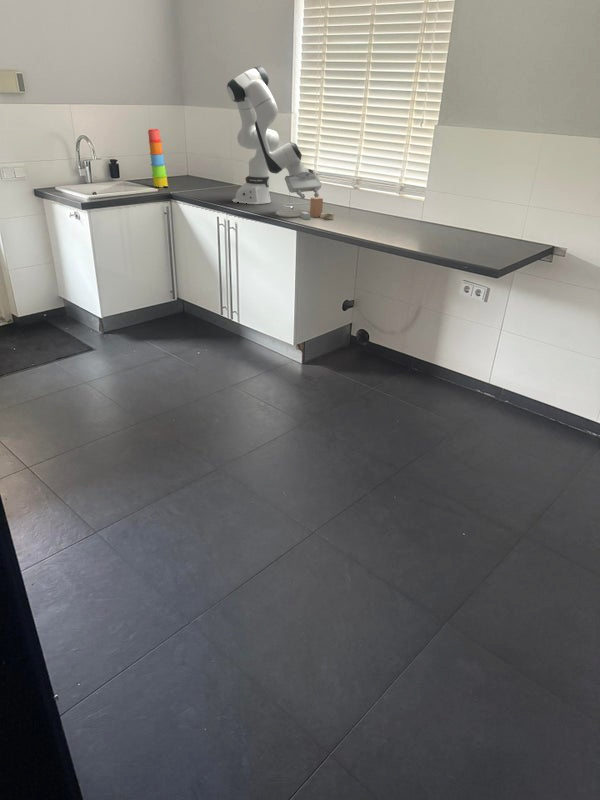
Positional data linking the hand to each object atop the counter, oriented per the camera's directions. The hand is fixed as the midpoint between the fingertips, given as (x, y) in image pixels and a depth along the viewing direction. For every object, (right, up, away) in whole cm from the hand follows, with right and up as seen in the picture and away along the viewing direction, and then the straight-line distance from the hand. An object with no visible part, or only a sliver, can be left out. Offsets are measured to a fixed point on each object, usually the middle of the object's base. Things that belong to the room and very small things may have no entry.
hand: (310, 197), depth 293 cm
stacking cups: (-97, +34, +77) cm, 129 cm away
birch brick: (+8, -13, -4) cm, 16 cm away
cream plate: (-11, -8, +4) cm, 14 cm away
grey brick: (-3, -12, -4) cm, 13 cm away
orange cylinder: (+3, -9, +2) cm, 10 cm away
